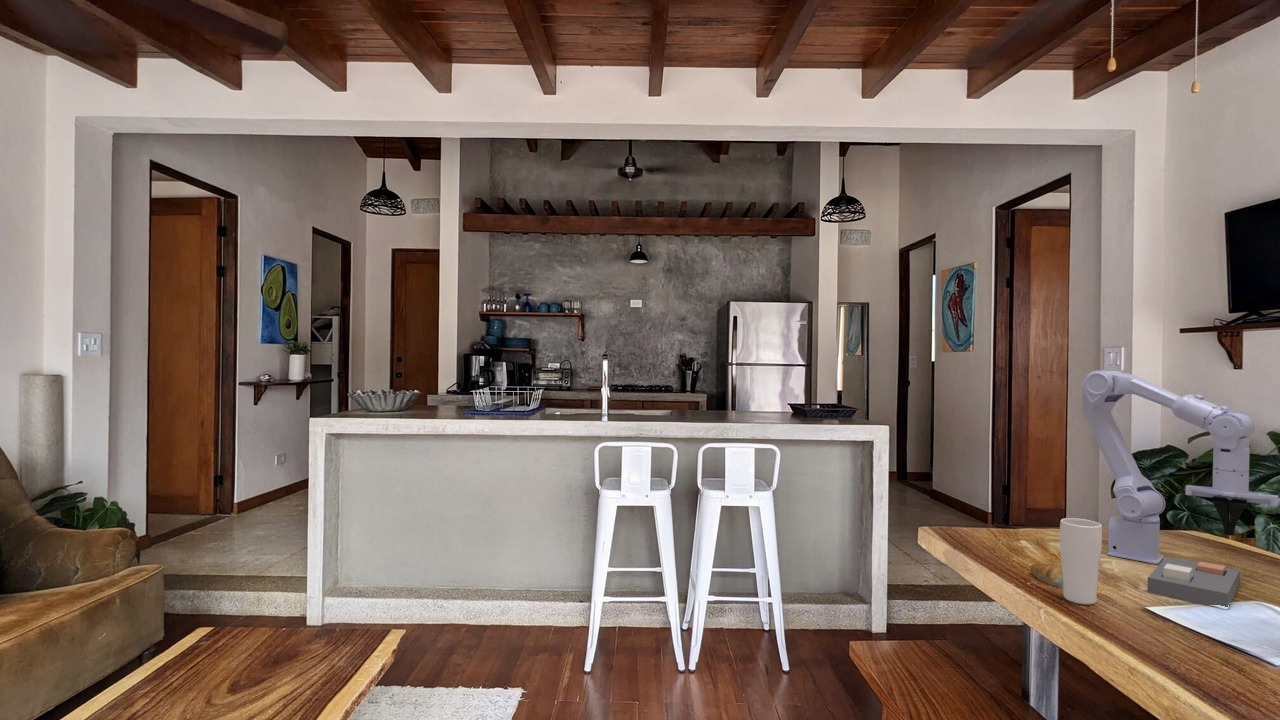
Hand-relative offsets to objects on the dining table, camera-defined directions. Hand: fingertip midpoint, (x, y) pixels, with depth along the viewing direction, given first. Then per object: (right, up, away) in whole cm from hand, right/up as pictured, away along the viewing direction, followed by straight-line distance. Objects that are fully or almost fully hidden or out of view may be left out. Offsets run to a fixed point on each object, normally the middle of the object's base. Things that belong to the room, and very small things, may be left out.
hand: (1229, 534), depth 142 cm
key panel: (-12, -9, -6) cm, 17 cm away
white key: (-17, -8, -8) cm, 20 cm away
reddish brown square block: (-7, -8, -4) cm, 12 cm away
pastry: (-38, -10, -2) cm, 39 cm away
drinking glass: (-40, -10, -13) cm, 43 cm away
